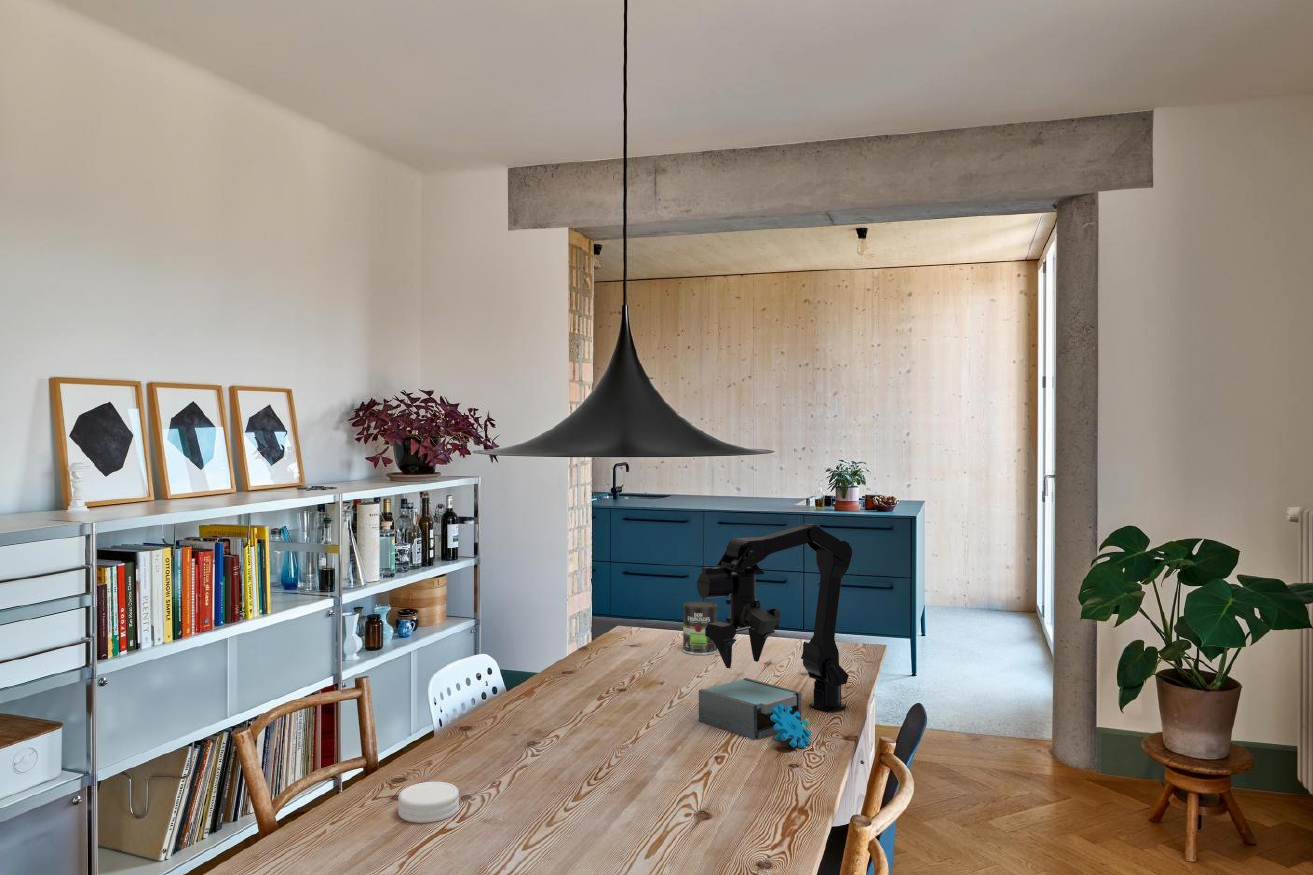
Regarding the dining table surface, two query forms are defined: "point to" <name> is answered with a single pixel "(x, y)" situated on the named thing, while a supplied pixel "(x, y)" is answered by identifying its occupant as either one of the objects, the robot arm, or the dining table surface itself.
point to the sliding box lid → (756, 694)
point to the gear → (790, 726)
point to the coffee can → (698, 627)
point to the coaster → (428, 802)
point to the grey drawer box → (737, 713)
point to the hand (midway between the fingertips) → (742, 664)
